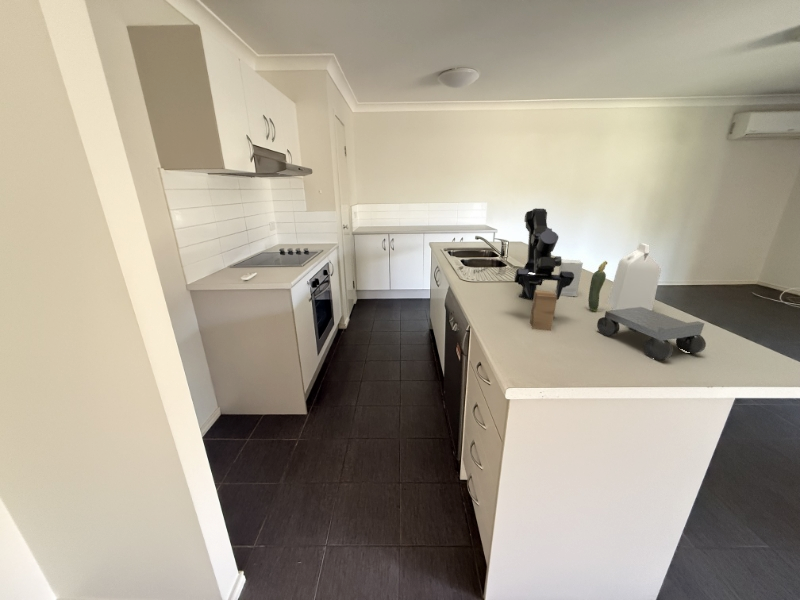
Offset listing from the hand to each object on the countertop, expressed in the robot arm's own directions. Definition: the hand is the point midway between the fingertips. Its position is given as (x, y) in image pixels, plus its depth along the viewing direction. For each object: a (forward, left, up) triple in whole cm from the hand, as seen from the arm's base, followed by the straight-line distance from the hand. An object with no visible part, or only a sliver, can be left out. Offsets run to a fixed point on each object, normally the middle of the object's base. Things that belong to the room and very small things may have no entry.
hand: (543, 298), depth 108 cm
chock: (+2, +1, -10) cm, 10 cm away
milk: (-38, +23, -10) cm, 46 cm away
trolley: (-6, +30, -10) cm, 32 cm away
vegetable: (-27, +12, -10) cm, 31 cm away
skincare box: (-43, -1, -10) cm, 44 cm away
